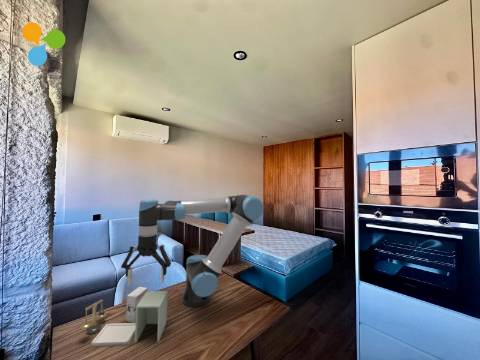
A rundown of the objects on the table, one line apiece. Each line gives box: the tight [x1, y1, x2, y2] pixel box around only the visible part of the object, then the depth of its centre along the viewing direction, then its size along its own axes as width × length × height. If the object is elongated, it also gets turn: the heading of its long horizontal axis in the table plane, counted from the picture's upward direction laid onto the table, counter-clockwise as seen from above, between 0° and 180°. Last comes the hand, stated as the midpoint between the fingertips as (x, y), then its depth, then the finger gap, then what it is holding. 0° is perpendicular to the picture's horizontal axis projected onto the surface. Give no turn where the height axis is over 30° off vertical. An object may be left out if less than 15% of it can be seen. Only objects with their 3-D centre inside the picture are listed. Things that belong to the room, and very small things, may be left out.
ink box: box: [125, 286, 148, 323], centre depth 96 cm, size 9×5×12 cm, turn 169°
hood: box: [134, 290, 169, 344], centre depth 86 cm, size 9×11×14 cm
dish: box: [90, 322, 135, 348], centre depth 83 cm, size 14×10×1 cm
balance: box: [79, 299, 108, 336], centre depth 86 cm, size 14×5×12 cm, turn 5°
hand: (146, 283), depth 89 cm, fingers open, 13 cm apart
